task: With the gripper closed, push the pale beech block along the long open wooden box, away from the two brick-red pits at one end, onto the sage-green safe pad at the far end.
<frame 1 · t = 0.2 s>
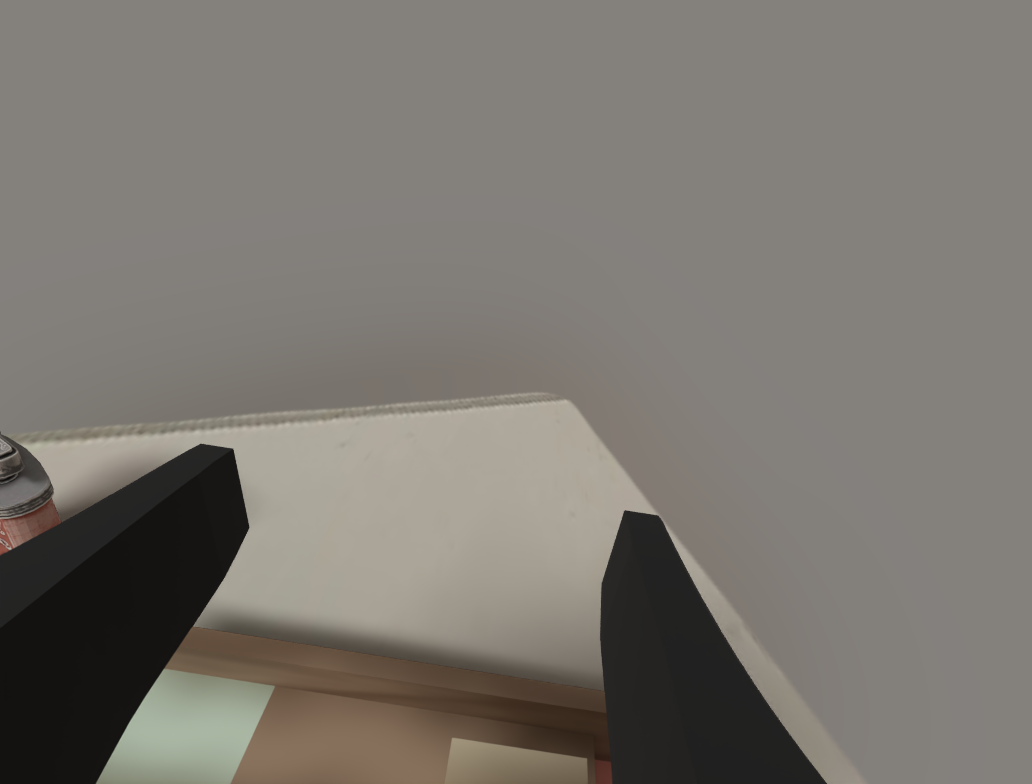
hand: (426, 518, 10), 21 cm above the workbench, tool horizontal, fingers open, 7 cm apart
lighter: (33, 566, 32), on the workbench
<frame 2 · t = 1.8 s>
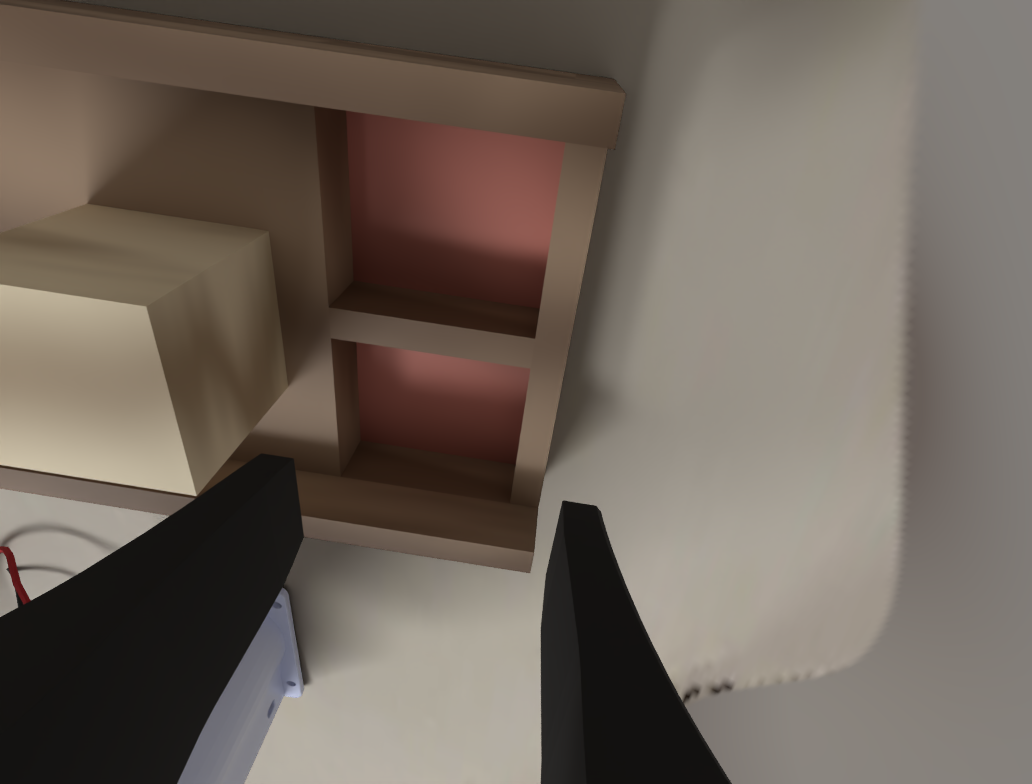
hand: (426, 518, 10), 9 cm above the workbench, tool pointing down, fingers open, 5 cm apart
block: (195, 302, 16), point 2 cm above the workbench, touching long open wooden box
long open wooden box: (121, 254, 18), on the workbench
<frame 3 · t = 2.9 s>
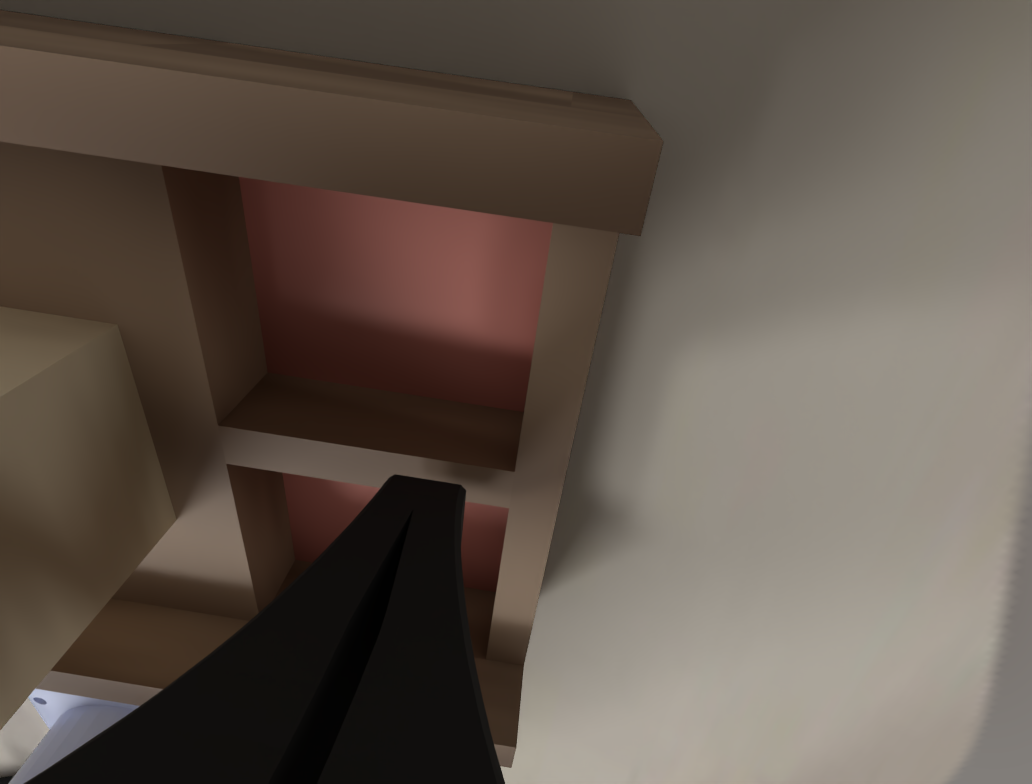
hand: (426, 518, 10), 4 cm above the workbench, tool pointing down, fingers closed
block: (32, 415, 11), point 2 cm above the workbench, touching long open wooden box
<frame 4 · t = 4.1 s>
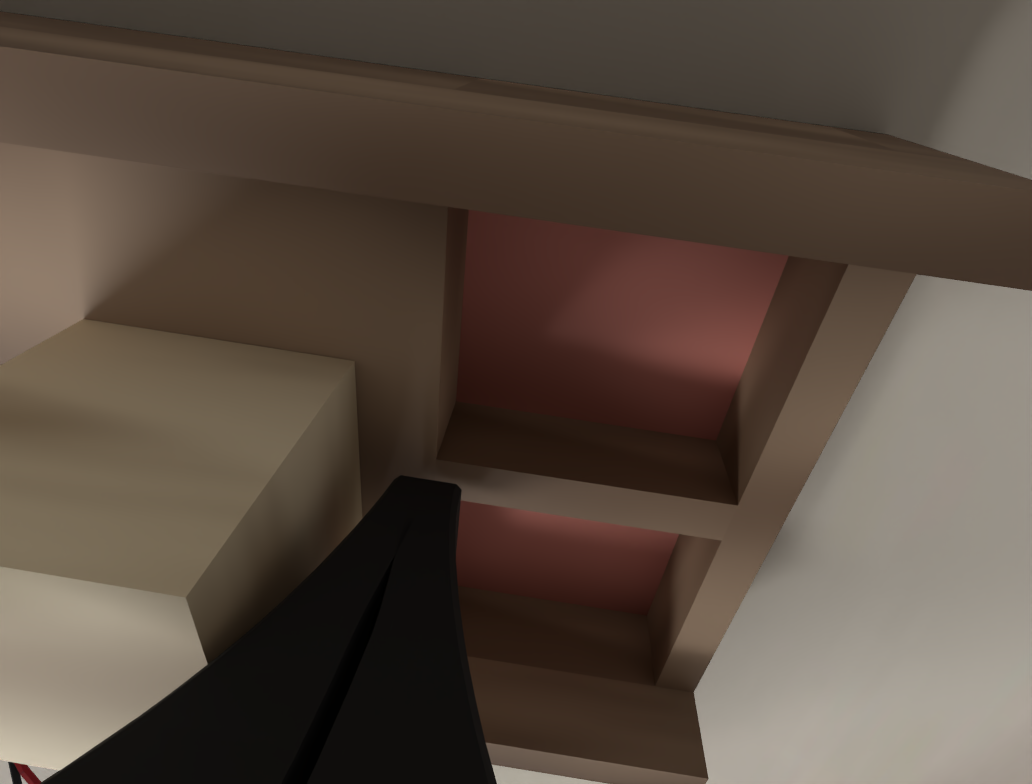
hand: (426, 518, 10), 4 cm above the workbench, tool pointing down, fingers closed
block: (239, 447, 11), point 3 cm above the workbench, touching gripper, long open wooden box
long open wooden box: (134, 360, 14), on the workbench
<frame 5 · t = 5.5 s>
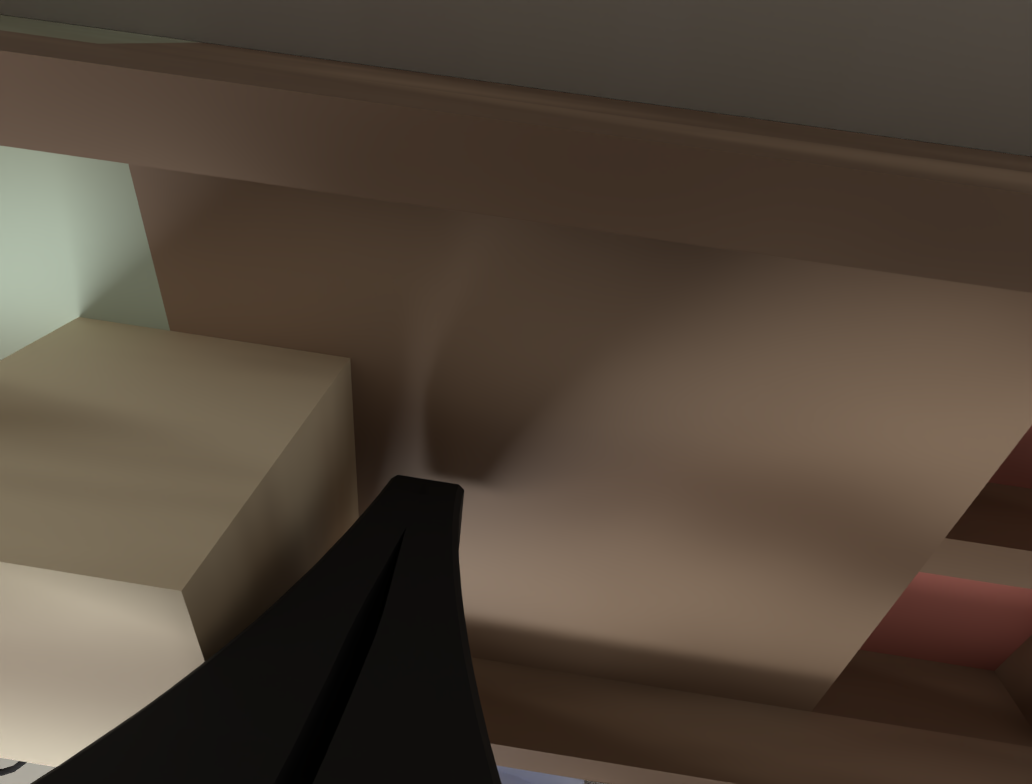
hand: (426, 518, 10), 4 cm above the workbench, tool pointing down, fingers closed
block: (235, 445, 11), point 3 cm above the workbench, touching gripper, long open wooden box
long open wooden box: (542, 422, 13), on the workbench
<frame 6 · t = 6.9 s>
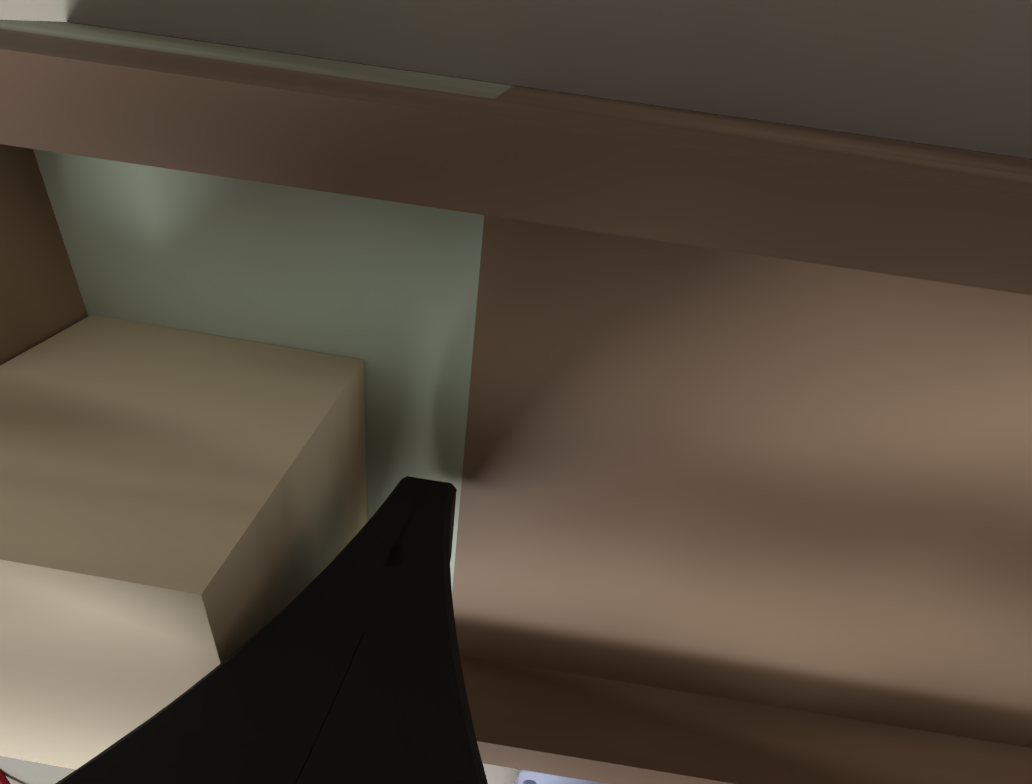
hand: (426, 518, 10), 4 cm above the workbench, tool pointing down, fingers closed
block: (245, 445, 11), point 3 cm above the workbench, touching gripper, long open wooden box
long open wooden box: (769, 458, 13), on the workbench
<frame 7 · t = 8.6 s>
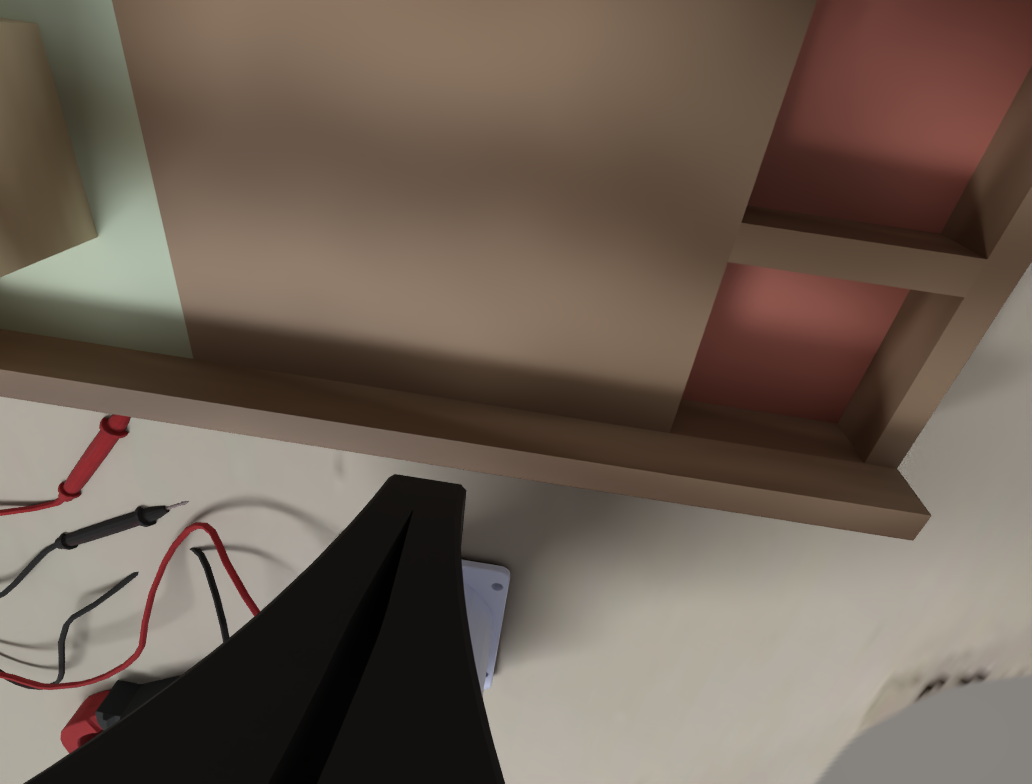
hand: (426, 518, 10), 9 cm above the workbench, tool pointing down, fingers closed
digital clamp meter: (141, 613, 31), on the workbench
long open wooden box: (439, 174, 16), on the workbench
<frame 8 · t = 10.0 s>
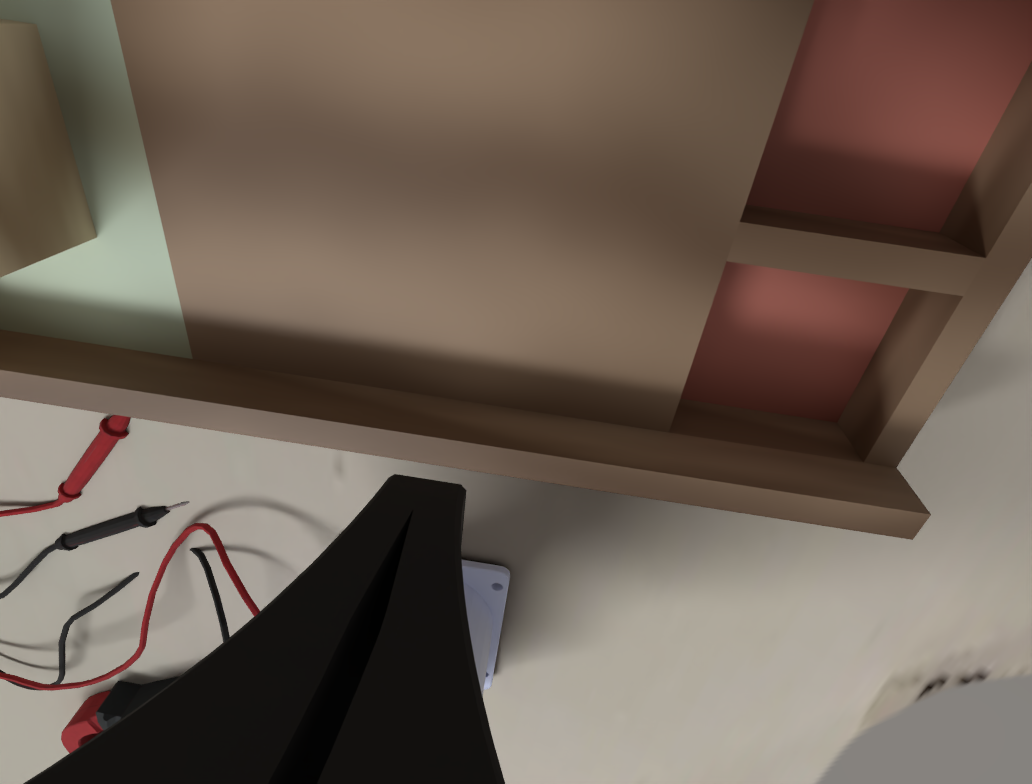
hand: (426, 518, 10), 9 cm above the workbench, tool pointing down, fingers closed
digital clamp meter: (141, 614, 31), on the workbench
long open wooden box: (438, 174, 16), on the workbench
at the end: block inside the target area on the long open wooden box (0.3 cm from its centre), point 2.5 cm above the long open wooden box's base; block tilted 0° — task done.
